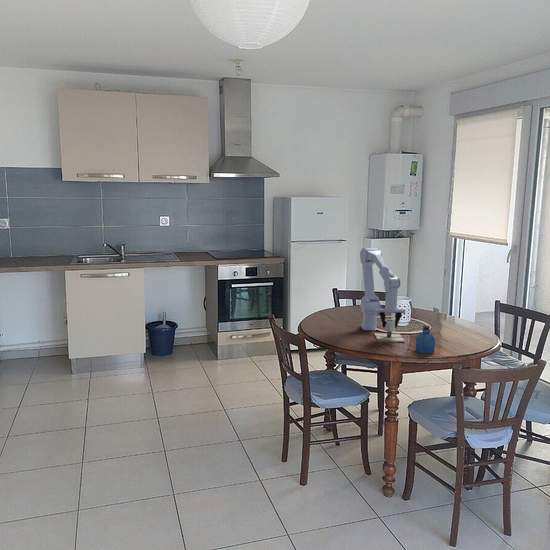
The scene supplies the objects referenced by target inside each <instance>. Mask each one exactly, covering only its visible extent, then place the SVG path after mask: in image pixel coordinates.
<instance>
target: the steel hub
mask: <svg viewBox="0 0 550 550" xmlns="http://www.w3.org/2000/svg"><path fill="white" fill-rule="evenodd" d="M395 327H396V321H395V319H390V318H389V319H386V318H385V327H383V330H384V332H387V331H388V332H392V333H393V332H396V328H395Z"/></svg>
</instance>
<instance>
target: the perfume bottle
mask: <svg viewBox="0 0 550 550" xmlns="http://www.w3.org/2000/svg"><path fill="white" fill-rule="evenodd" d="M430 327H431V326H429V325H422V328H421V329H422V330H421V331H422V332H421V331H420V332H419V333H418V334H417V335H416V337H415V349H416V350H415V351H417V350H418V351H417V352H419V353H421V354H433V353H432V352H434V353H435V347H436V346H435V345H436V339H435V337H434V335H433V334H432V333H430V332H431V328H430Z"/></svg>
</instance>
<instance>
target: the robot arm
mask: <svg viewBox="0 0 550 550" xmlns="http://www.w3.org/2000/svg"><path fill="white" fill-rule="evenodd" d="M382 254H383V253H382V250H381V248H380V247H362V248H361V250H360V253H359V257H360V258H359V259H360V264H362V273H363V274H362V275H363V286H364V296H362V297H361V298H360V306H359V307H360V311H361V312H362V313H363V315H362V324H360V327H361V329H362V330H363V331H376V330H378V331H379V329H378V328H377V321H378V320H377V318H378V314H379V316H380V320H381V324H382V328H384V327H385V320H386V314H394V316H395V317H394V320H395V321H396V327H395V329H397V328H398V325H399V322H400V320H401V318H402V316H403V314H404V315H406V309H405V308H398V307H397V305H398V291H399V290H398V289H399V288H400V287H401V279H400V278H399V277H400V276H399V277H398V276H397V275H394V273H393V271H392V270H391V268H390V267H389V266H388V265H386V264H385V261H384V259H383V258H382ZM374 264H375V265H376V266H377V267H378V269H379V275H380V276H381V278H382V280H383V285H384V292H385V299H384V300H385V302H384V308H381V307H382V305H381V302H380V297H379V296H378V295H376V294H375V284H374V283H375V282H374V272H373V270H374V269H373V265H374Z"/></svg>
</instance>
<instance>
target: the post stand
mask: <svg viewBox="0 0 550 550" xmlns="http://www.w3.org/2000/svg"><path fill="white" fill-rule="evenodd" d="M373 335H375V336H374V337H375V339H376V341H377V342H378V343H397V342H406V341H405V339H404V338H403V336H402V335H401V333H396V332H395V333H393V332H388V331H386V332H384V333H383V332H374V333H373Z"/></svg>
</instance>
